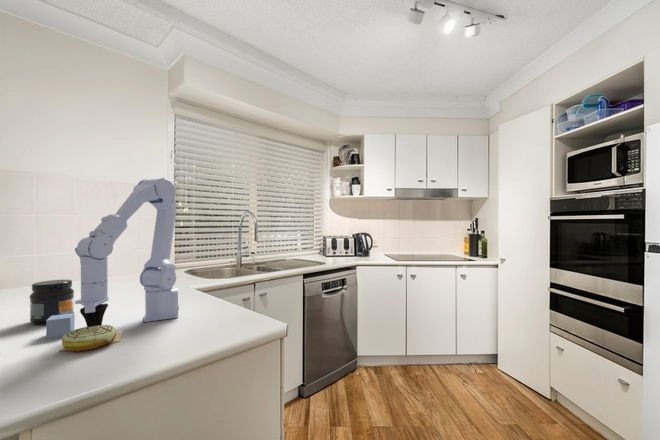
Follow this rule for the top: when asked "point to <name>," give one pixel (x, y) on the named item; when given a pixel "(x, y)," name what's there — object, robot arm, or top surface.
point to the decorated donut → (89, 337)
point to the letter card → (116, 339)
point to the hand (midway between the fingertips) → (94, 333)
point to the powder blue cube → (59, 325)
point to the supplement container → (50, 300)
